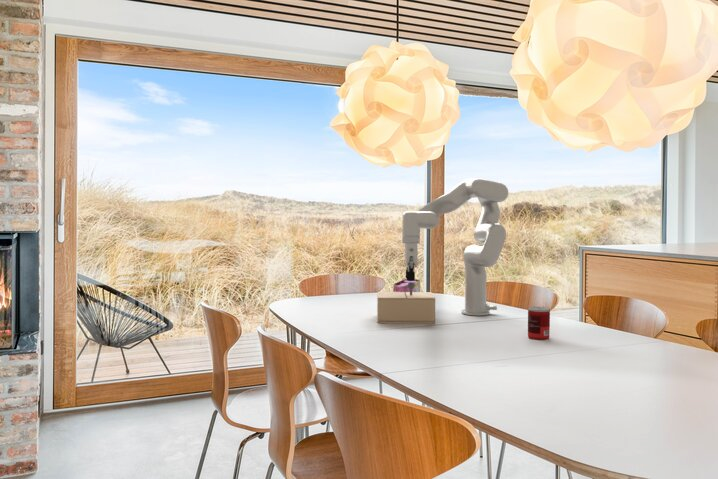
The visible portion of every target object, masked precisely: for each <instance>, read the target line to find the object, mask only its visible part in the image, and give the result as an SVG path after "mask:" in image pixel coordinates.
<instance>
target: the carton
mask: <svg viewBox="0 0 718 479" xmlns="http://www.w3.org/2000/svg"><path fill="white" fill-rule="evenodd" d="M376 294H377V299H376V300H377V301H376V302H377V304H376V306H377V307H376V308H377V311H376V313H377V314H376V315H377V324H436V298H435V299H407V297H406V294H405V293H404V292H393V291H377V293H376Z"/></svg>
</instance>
